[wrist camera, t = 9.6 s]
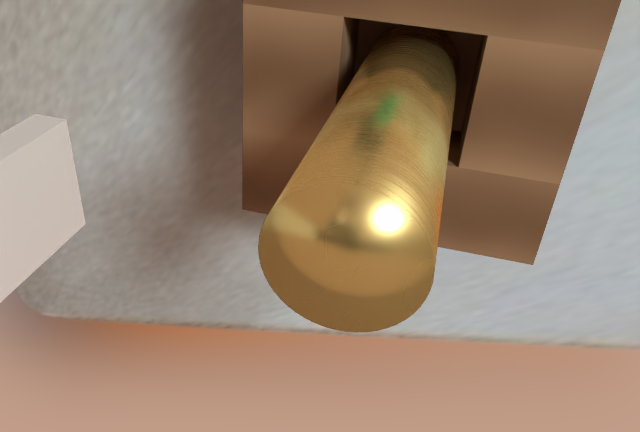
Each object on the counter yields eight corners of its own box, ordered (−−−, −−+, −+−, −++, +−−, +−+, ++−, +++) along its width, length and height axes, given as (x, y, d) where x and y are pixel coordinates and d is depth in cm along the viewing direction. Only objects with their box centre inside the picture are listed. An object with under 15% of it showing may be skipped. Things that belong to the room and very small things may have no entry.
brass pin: (374, 15, 23) (259, 168, 11) (467, 27, 22) (450, 202, 10) (364, 102, 24) (257, 312, 13) (449, 115, 24) (418, 348, 12)
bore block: (300, -119, 24) (242, -116, 18) (602, -91, 22) (646, -77, 16) (288, 144, 30) (242, 209, 24) (522, 183, 28) (532, 265, 23)
